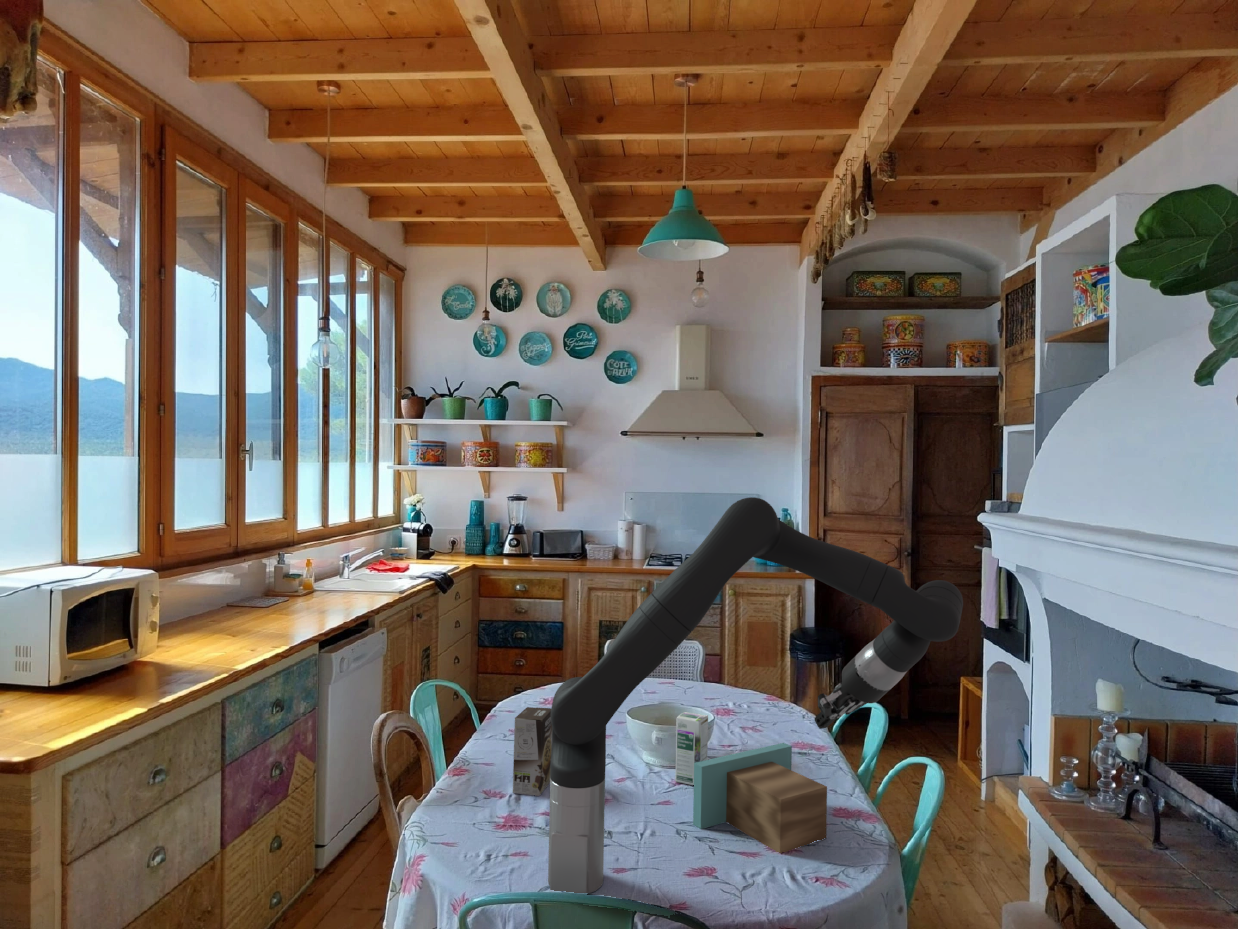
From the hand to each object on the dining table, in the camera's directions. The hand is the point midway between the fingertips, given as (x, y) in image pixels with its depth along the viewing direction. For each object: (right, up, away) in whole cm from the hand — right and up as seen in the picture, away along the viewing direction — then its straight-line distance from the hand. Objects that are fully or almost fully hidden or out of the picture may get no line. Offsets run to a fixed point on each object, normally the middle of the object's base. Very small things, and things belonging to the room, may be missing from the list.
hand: (819, 723), depth 141 cm
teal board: (-11, -24, +17) cm, 31 cm away
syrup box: (-20, -24, +34) cm, 46 cm away
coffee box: (-55, -23, +28) cm, 66 cm away
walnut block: (-6, -24, +10) cm, 27 cm away
